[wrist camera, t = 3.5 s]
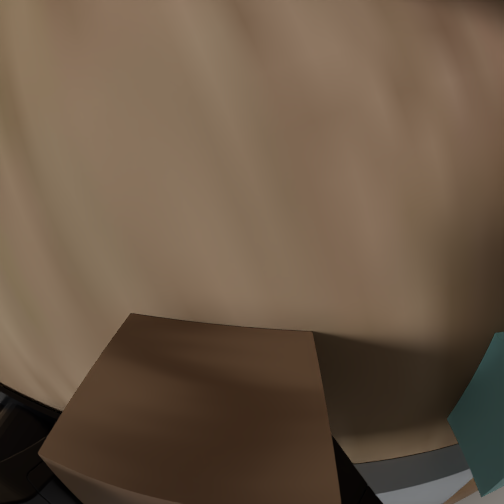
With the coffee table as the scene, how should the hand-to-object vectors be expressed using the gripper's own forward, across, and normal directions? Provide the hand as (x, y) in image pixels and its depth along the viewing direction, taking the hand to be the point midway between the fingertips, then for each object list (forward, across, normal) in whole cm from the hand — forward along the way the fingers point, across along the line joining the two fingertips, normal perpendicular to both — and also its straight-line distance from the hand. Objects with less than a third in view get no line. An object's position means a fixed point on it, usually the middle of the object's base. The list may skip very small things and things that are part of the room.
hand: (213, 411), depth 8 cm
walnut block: (+1, 0, 0) cm, 1 cm away
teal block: (+1, -13, 0) cm, 13 cm away
